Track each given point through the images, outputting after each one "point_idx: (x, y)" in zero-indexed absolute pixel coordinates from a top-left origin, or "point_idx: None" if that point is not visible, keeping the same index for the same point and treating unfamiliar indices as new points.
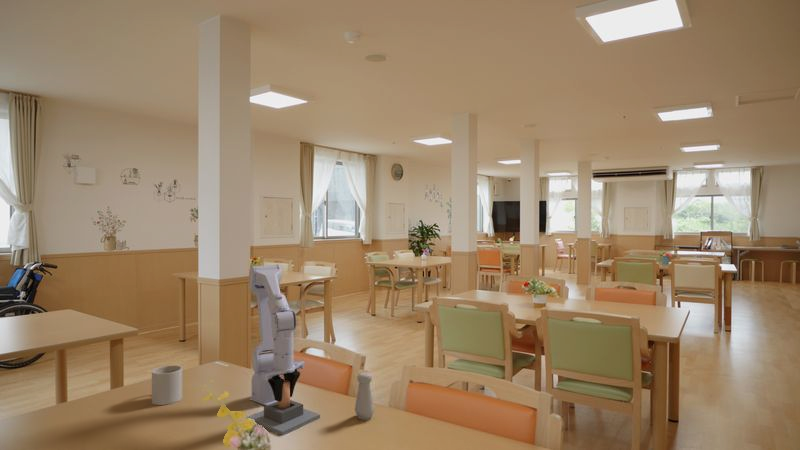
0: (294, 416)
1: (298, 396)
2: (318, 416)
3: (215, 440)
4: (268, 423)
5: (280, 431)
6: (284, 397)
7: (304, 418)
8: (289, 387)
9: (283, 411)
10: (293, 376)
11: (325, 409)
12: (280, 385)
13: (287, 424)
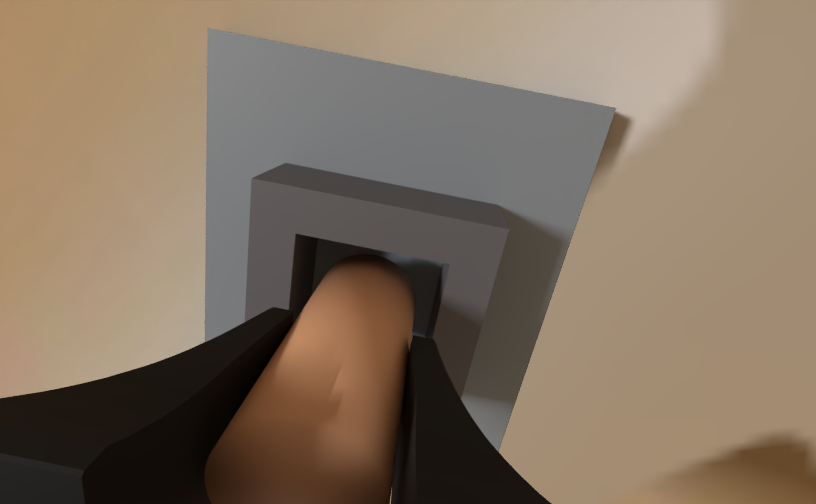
0: (371, 184)
1: None
2: (232, 33)
3: (775, 436)
4: (524, 295)
5: (606, 133)
6: (385, 331)
7: (338, 104)
8: (285, 372)
9: (464, 243)
10: (130, 465)
11: (88, 94)
12: (474, 459)
13: (487, 159)
